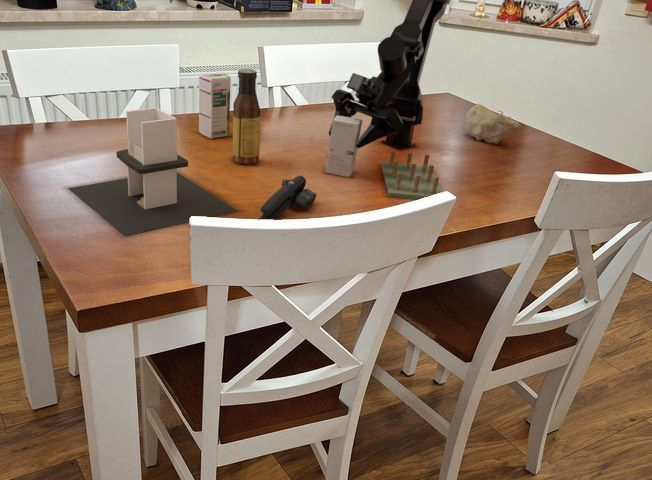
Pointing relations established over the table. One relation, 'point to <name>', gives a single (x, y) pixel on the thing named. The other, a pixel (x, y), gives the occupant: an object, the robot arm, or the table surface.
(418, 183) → the plate rack
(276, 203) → the can opener
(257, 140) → the sauce bottle
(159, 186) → the box holder stand
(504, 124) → the beige lumpy chunk
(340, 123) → the cosmetic box
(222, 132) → the syrup box
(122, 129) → the table surface
